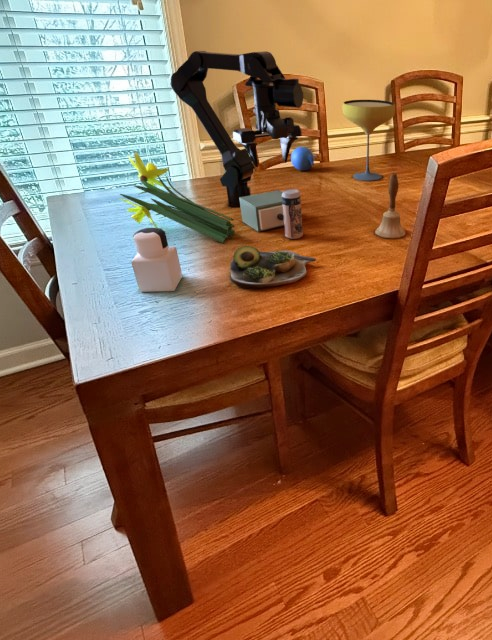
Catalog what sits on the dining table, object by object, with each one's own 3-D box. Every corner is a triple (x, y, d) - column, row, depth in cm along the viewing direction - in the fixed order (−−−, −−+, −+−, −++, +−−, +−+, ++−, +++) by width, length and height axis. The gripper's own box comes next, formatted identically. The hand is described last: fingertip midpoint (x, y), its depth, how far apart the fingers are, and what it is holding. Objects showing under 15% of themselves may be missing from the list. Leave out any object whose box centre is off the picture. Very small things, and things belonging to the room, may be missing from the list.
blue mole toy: (328, 169, 181) (327, 146, 176) (304, 175, 174) (303, 151, 169) (308, 163, 188) (307, 141, 183) (284, 168, 181) (282, 146, 176)
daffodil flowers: (203, 258, 113) (86, 202, 118) (230, 264, 127) (126, 214, 132) (230, 193, 111) (111, 139, 116) (255, 208, 126) (148, 159, 130)
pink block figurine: (149, 276, 102) (135, 224, 96) (183, 276, 103) (171, 224, 96) (139, 292, 96) (123, 237, 90) (174, 291, 97) (161, 237, 90)
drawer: (300, 222, 130) (299, 204, 127) (264, 231, 124) (262, 212, 121) (282, 212, 136) (281, 195, 133) (247, 220, 130) (245, 202, 128)
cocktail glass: (392, 184, 166) (396, 107, 152) (341, 183, 166) (340, 106, 152) (391, 171, 181) (394, 100, 167) (344, 170, 181) (344, 98, 167)
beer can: (296, 241, 121) (292, 195, 114) (281, 237, 122) (277, 192, 116) (306, 235, 124) (304, 190, 118) (292, 231, 126) (288, 187, 119)
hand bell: (408, 229, 129) (413, 171, 120) (400, 240, 122) (404, 179, 114) (380, 225, 131) (382, 167, 122) (371, 236, 124) (372, 175, 116)
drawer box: (298, 222, 132) (296, 198, 128) (258, 232, 126) (255, 207, 122) (280, 213, 138) (278, 189, 135) (242, 221, 132) (239, 197, 128)
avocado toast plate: (312, 252, 115) (311, 234, 113) (322, 285, 101) (321, 265, 98) (231, 258, 111) (228, 240, 109) (230, 293, 97) (227, 273, 94)
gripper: (247, 112, 116) (254, 175, 125) (310, 106, 126) (313, 165, 134) (228, 106, 123) (236, 166, 132) (289, 101, 133) (293, 158, 142)
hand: (271, 164), depth 135 cm, fingers open, 9 cm apart
